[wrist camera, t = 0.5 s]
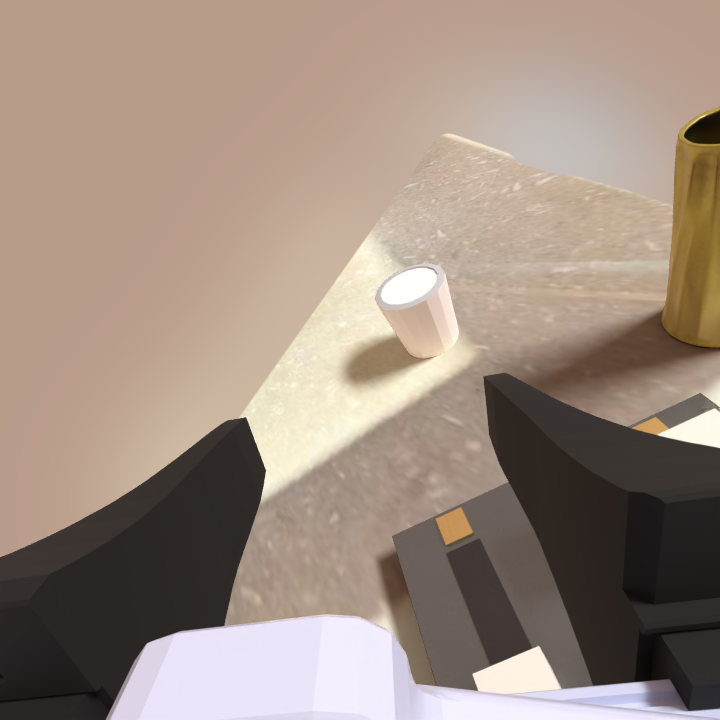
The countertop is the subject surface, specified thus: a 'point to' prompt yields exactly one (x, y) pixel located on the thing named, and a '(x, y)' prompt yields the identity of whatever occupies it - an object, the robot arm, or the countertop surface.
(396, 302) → the white cup
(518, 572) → the console
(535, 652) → the switch
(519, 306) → the countertop surface
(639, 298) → the countertop surface
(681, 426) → the switch
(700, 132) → the vase
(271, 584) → the countertop surface
